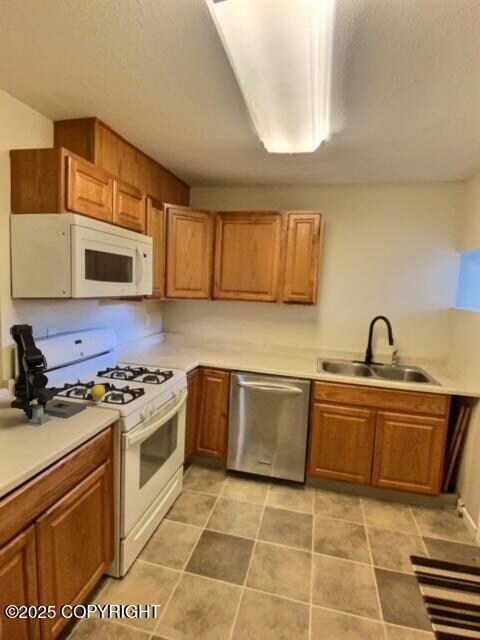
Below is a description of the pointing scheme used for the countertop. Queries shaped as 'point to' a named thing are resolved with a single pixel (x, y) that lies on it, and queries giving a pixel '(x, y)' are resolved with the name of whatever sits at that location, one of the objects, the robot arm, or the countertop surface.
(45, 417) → the holster
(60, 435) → the countertop surface
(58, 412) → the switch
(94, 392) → the light bulb
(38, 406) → the plug
